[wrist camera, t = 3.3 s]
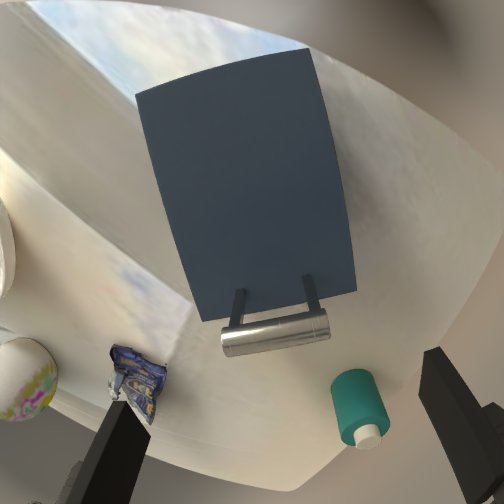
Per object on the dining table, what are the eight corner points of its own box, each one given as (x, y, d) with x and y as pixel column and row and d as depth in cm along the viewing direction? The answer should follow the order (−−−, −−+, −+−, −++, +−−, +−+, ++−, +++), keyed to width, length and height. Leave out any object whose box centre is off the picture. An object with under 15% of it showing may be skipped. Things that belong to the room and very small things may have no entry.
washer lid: (354, 286, 24) (387, 345, 16) (203, 317, 25) (182, 382, 18) (307, 50, 18) (328, 5, 11) (138, 95, 20) (80, 77, 12)
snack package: (91, 367, 41) (147, 413, 43) (75, 390, 35) (138, 438, 37) (132, 322, 40) (193, 374, 42) (117, 343, 34) (188, 400, 36)
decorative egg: (54, 393, 45) (18, 447, 31) (8, 348, 42) (-35, 395, 28) (76, 368, 42) (33, 431, 27) (23, 316, 39) (-31, 367, 25)
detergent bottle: (373, 364, 38) (396, 421, 28) (373, 394, 40) (392, 449, 30) (328, 374, 39) (342, 436, 29) (332, 404, 41) (344, 461, 31)
